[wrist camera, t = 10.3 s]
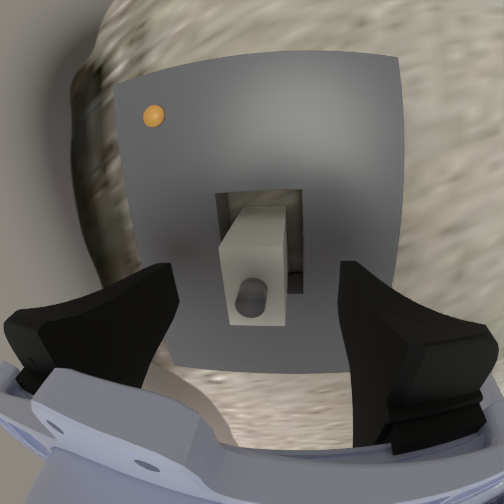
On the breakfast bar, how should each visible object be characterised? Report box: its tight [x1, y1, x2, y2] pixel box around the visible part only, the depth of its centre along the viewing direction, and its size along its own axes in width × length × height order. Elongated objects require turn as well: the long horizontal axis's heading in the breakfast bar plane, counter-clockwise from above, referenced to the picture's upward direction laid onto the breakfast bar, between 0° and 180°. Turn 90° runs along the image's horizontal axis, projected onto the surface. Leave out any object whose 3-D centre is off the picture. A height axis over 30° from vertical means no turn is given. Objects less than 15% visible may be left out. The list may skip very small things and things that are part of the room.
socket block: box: [113, 51, 404, 374], centre depth 16 cm, size 20×15×3 cm
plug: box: [218, 206, 288, 326], centre depth 14 cm, size 4×3×7 cm, turn 5°
